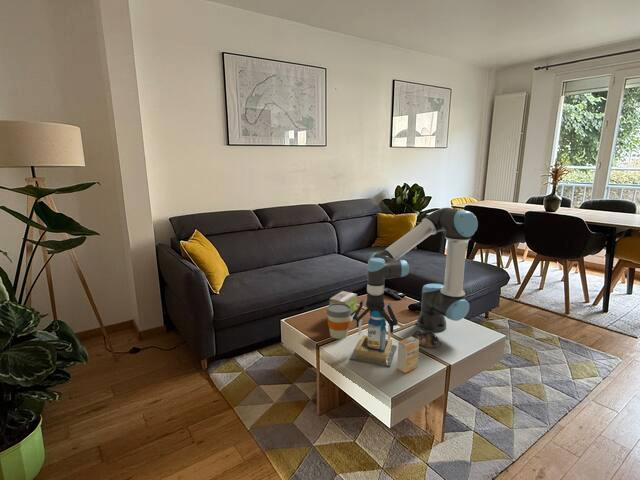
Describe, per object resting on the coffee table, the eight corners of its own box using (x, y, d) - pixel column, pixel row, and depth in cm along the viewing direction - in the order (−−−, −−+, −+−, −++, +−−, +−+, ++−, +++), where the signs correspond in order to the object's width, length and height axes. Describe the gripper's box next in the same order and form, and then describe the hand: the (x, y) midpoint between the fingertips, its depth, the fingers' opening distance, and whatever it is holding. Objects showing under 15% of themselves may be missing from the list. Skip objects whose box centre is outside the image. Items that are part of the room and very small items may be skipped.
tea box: (344, 327, 192) (344, 302, 189) (328, 323, 197) (328, 298, 194) (357, 317, 204) (357, 293, 201) (341, 313, 209) (341, 290, 206)
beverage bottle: (388, 354, 162) (390, 311, 160) (371, 356, 159) (372, 312, 158) (380, 347, 170) (382, 306, 168) (364, 348, 168) (365, 307, 166)
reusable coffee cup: (325, 339, 179) (325, 312, 176) (328, 328, 191) (328, 302, 188) (350, 341, 177) (350, 313, 174) (351, 329, 189) (352, 303, 186)
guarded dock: (396, 347, 171) (396, 338, 170) (390, 367, 154) (390, 357, 153) (360, 341, 177) (360, 332, 176) (349, 359, 161) (350, 350, 160)
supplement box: (405, 374, 149) (406, 345, 147) (396, 369, 153) (397, 341, 150) (418, 367, 154) (419, 339, 151) (409, 362, 158) (410, 335, 155)
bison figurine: (410, 340, 178) (415, 350, 168) (411, 327, 177) (415, 336, 167) (434, 341, 177) (440, 350, 167) (435, 327, 176) (441, 336, 166)
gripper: (405, 293, 158) (403, 336, 163) (350, 286, 167) (350, 328, 172) (402, 298, 152) (400, 344, 156) (346, 292, 160) (346, 335, 165)
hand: (374, 336), depth 164 cm, fingers open, 13 cm apart
